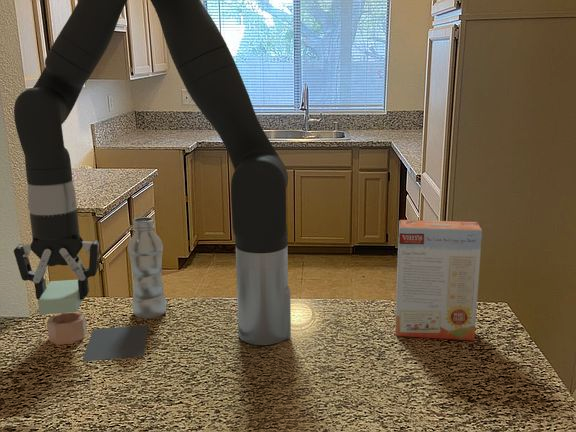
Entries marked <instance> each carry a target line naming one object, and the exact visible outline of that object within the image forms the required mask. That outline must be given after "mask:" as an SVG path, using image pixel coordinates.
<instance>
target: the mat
mask: <svg viewBox="0 0 576 432" xmlns="http://www.w3.org/2000/svg"><path fill="white" fill-rule="evenodd" d="M148 329H149V324H141V325H130V326H129V325H128V326H118V327H105V328H93V329H92V331H91V334H90V337H89V340H88V342H87V346H86V348H85V351H84V353H83V357H82V358H81V359H82V360H81V363H84V362H95V361H105V360H117V359H127V358H138V357H140V358H141V357H145V353H146V351H145V350H146V346H147V345H146V344H147V337H148V331H149V330H148Z"/></svg>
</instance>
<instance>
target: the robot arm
mask: <svg viewBox="0 0 576 432" xmlns="http://www.w3.org/2000/svg"><path fill="white" fill-rule="evenodd" d="M149 1H150V2H151V5H152V6H153V8H154V10H155V13H156V14H157V18H158V20H159V24H160V26H161V30H162V34H163V37H164V40H165V43H166V46H167V48H168V52H169V55H170V57H171V59H172V63H173V64H174V66H175V69H176V70H177V73H178V75H179V76H180V79H181V81H182V83H183V85H184V86H185V89H186V92H187V93H188V94H189V96H190V98H191V99H192V101H193V102H194V104H195V106H196V107H197V108H198V109H199V111H200V113H202V115H203V116H204V118H205V119H206V120H207V121H208V122H209V123H210V124H211V126H212V127H213V129H214V130H215V131H216V133H217V134H218V136H219V138H220V140H222V142H223V145H224V148H225V150H226V151H227V154H228V157H229V159H230V161H231V164H232V167H233V169H234V171H233V174H232V176H231V182H230V198H231V199H230V201H231V204H230V205H231V218H232V219H231V220H232V231H233V234H234V240H235V244H234V245H235V269H236V272H235V273H236V274H235V275H236V276H235V277H236V298H237V301H236V303H237V305H236V306H237V330H238V331H237V332H238V333H237V335H238V337H239V339H240V340H241V341H243V342H245V343H246V344H250V345H256V346H268V345H269V346H270V345H275V344H278V343H281V342H283V341H286V340H290V339H291V338H292V337H291V334H292V333H291V331H292V330H291V329H292V327H291V322H292V321H291V319H292V318H291V317H292V316H291V310H292V309H291V288H290V286H289V268H288V266H289V264H288V263H289V262H288V261H289V259H288V258H289V256H288V254H289V253H288V250H289V249H288V243H289V241H288V237H289V235H288V233H289V232H288V227H287V226H288V225H287V187H288V182H289V175H288V170H287V167H286V165H285V164H284V162H283V160H282V159H281V157H280V155H279V154H278V153H277V151H276V150H275V149H276V148H275V147H274V146H273V144H272V143H271V141H270V139H269V138H268V136H267V134H266V132H265V130H264V129H263V127H262V125H261V124H260V121H259V119H258V117H257V114H256V112H255V109H254V106H253V104H252V100H251V99H250V96H249V95H250V94H249V93H248V91H247V87H246V86H245V83H244V80H243V77H242V76H241V74H240V71H239V69H238V66H237V64H236V61H235V59H234V58H233V55H232V52H231V51H230V49H229V46H228V44H227V42H226V41H225V39H224V37H223V35H222V33H221V31H220V29H219V28H218V27H217V25H216V23H215V21H214V19H213V18H212V17H211V14H209V12H208V10H207V9H206V7H205V6H204V4H203V3H202V1H201V0H149ZM127 2H128V0H78V2H77V3H76V5H75V7H74V9H73V10H72V12H71V14H70V16H69V18H68V19H67V21H66V22H65V24H64V26H63V27H62V29H61V31H60V32H59V33H58V35H57V37H56V39H55V40H54V42H53V43H52V46H51V48H50V49H49V51H48V52H47V54H46V57H45V60H44V65H45V66H44V69H43V70H42V72H41V73H40V74H39V75H40V76H39V78H38V79H37V81H36V83H35V84H34V86H33V87H31V88H28V89H25V90H24V91H22V92H21V93H20V94H19V95H18V96H17V98H16V100H15V101H14V107H13V117H14V123H15V124H14V125H15V128H16V133H17V136H18V139H19V143H20V146H21V150H22V152H23V154H24V162H25V163H24V165H25V173H26V174H25V175H26V182H27V208H28V209H27V210H28V212H29V221H30V228H31V229H30V230H31V236H32V240H31V243H28V244H23V243H19V244H18V245H16V247H15V248H14V249H13V254H14V256H15V261H16V264H17V267H18V271H19V274H20V278H21V280H23V281H24V282H25V281H30V282H32V283H33V284H34V292H35V297H36V299H37V301H38V300H39V299H40V297H41V295H42V294H43V293H44V291H45V290H46V287H47V282H46V278H44V276H45V273H46V271H47V268H48V267H55V266H68V267H69V268H70V270H71V271H72V272H74V274H75V275H76V277H77V280H78V288H79V294H80V300H82V301H84V300H85V299H86V297H88V295H89V292H90V286H89V279H88V278H90V277H95V275H97V272H98V271H99V270H98V269H99V257H100V241H99V240H97V239H94V240H93V241H86V240H83V238H82V236H81V235H80V225H79V215H78V207H77V206H78V204H77V195H76V191H75V185H74V181H73V170H72V163H71V157H70V153H69V150H68V149H67V148H66V147H65V142H64V141H65V140H64V135H63V124H64V123H65V122H66V120H67V119H68V118H69V116H70V114H71V112H72V111H73V109H74V107H75V105H76V102H77V100H78V98H79V96H80V94H81V92H82V89H83V87H84V86H85V84H86V83H87V81H88V80H89V79H90V77H91V75H92V73H93V72H94V70H95V69H96V68H97V66H98V65H99V63H100V61H101V59H102V58H103V56H104V54H105V53H106V51H107V49H108V46H109V44H110V43H111V41H112V38H113V36H114V33H115V31H116V27H117V25H118V22H119V19H120V17H121V15H122V12H123V10H124V7H125V6H126V4H127ZM82 249H84V250H85V253H86V255H89V261H88V268H86V266H85V265H84V264H83V260H82V259H81V257H80V256H79V253H80V251H81V250H82ZM31 251H32V252H33V254H35V255H36V257H38V259H39V263H38V265H37V267H36V269H35V270H36V271H33V269H32V266H31V262H30V258H29V256H30V255H31Z"/></svg>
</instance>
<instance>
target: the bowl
mask: <svg viewBox="0 0 576 432" xmlns="http://www.w3.org/2000/svg"><path fill="white" fill-rule="evenodd" d="M46 328H47V334H48V341H49V342H50V343H53V344H54V345H57V346H58V345H59V346H61V345H68V344H71V345H72V344H74V343H77V342H79V341H82V340H84V339H86V334H87V332H88V330H87V322H86V313H84V312H80V311H77V312H68V313H55V314H54V315H53V314H52V315H51V316H49V318H48V320H47V322H46Z"/></svg>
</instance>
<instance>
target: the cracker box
mask: <svg viewBox="0 0 576 432" xmlns="http://www.w3.org/2000/svg"><path fill="white" fill-rule="evenodd" d="M482 239H483V229H482V228H481V226H480V225H479V223H478V221H455V220H454V221H451V220H449V221H448V220H420V219H418V220H417V219H415V220H414V219H400V220H399V221H398V240H397V241H398V242H397V243H398V244H397V245H398V246H397V265H396V266H397V267H396V268H397V269H396V292H395V293H396V294H395V295H396V299H395V337H396V336H397V337H407V338H408V337H409V338H410V337H411V338H425V339H443V340H457V341H458V340H459V341H470V342H471V341H475V335H476V334H475V333H476V324H477V323H476V321H477V310H478V309H477V307H478V296H479V295H478V294H479V293H478V292H479V282H480V281H479V279H480V267H481V266H480V265H481V252H482Z"/></svg>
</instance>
